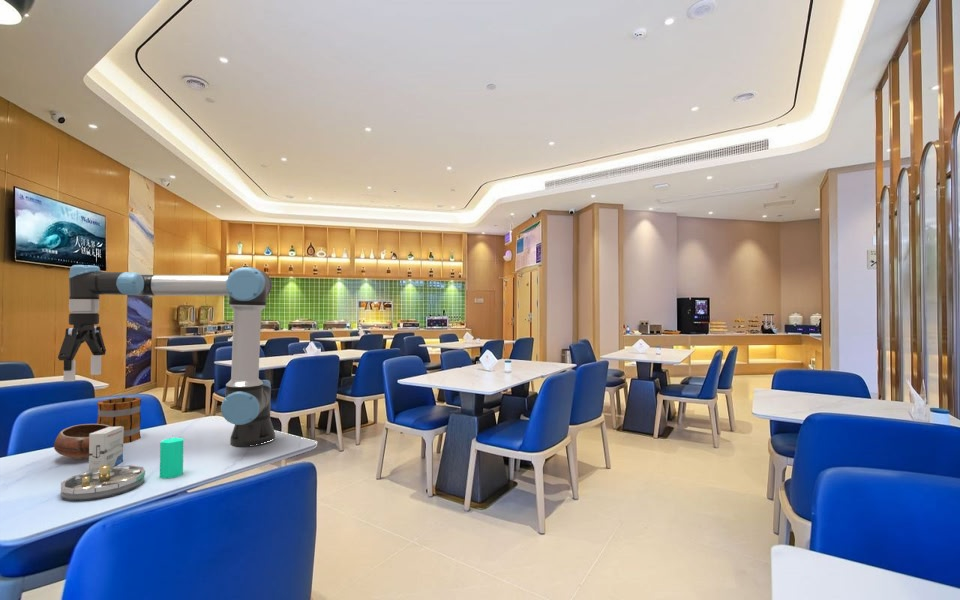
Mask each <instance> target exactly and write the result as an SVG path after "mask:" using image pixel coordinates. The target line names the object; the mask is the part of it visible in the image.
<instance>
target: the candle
mask: <svg viewBox="0 0 960 600" xmlns="http://www.w3.org/2000/svg"><path fill="white" fill-rule="evenodd" d="M159 443H160V446H159V448H160V449H159V478H160V479H172V478H176V477H179V476H181V475H183V474H184V438H183V437H181V438H180V437H177V436H176V437H171V438H165V439H163V440H161V441H160V442H159Z"/></svg>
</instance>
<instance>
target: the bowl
mask: <svg viewBox="0 0 960 600" xmlns="http://www.w3.org/2000/svg"><path fill="white" fill-rule="evenodd" d="M107 427H111V426H108V425H103V424H97V423H83V424H82V423H81V424H76V425H72V426H69V427H66V428H64V429H62V430H61V431H60V432H59V433H58V435H57V436H56V438H55V440H54V443H53V449H54V451H55V452H56V453H58V454H59V455H61V456H62V457H66V458H69V459H75V460H84V459H89V434H90V433H93V432H96V431H99V430H102V429H104V428H107Z"/></svg>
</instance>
